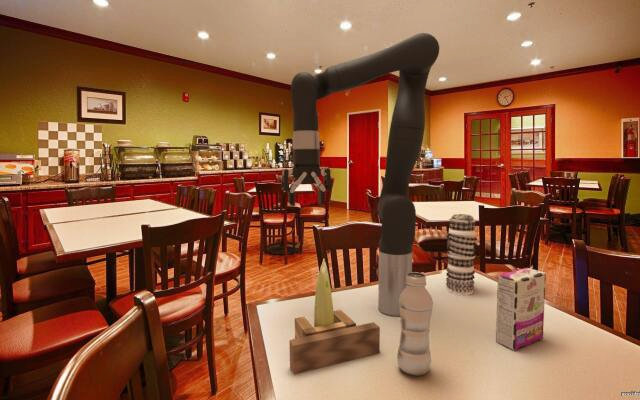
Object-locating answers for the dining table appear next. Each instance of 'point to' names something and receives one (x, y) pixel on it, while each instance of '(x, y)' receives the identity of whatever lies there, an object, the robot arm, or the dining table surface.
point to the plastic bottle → (415, 325)
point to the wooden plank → (334, 347)
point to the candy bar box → (520, 308)
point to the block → (306, 329)
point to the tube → (323, 299)
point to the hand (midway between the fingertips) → (306, 205)
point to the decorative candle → (461, 254)
